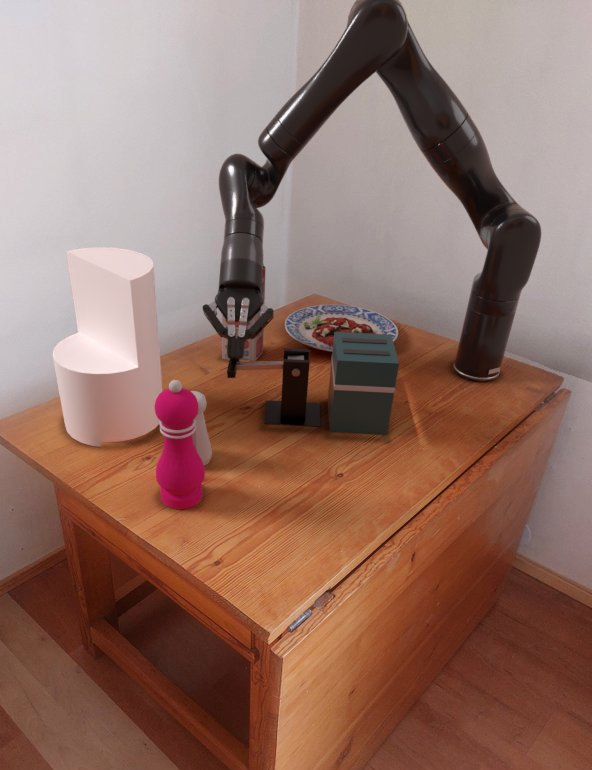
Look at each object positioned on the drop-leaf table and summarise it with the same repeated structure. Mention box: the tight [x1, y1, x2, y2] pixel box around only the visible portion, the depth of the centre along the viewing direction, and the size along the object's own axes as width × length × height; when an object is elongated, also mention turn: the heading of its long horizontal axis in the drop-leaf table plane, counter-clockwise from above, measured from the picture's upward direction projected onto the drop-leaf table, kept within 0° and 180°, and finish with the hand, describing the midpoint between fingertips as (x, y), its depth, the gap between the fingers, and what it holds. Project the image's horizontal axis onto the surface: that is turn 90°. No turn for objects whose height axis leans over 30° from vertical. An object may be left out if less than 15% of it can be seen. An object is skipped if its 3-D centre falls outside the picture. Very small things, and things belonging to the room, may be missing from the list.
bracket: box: [263, 347, 322, 428], centre depth 112 cm, size 10×8×13 cm
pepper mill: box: [155, 379, 206, 510], centre depth 91 cm, size 7×7×20 cm
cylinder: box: [52, 246, 164, 448], centre depth 105 cm, size 17×17×28 cm
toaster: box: [327, 332, 400, 436], centre depth 112 cm, size 10×11×15 cm
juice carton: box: [221, 265, 266, 362], centre depth 130 cm, size 7×7×22 cm
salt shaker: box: [190, 390, 213, 467], centre depth 100 cm, size 6×6×13 cm
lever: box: [226, 355, 304, 379], centre depth 110 cm, size 13×6×2 cm, turn 88°
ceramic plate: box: [284, 304, 399, 353], centre depth 145 cm, size 26×26×3 cm
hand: (235, 360), depth 109 cm, fingers closed
